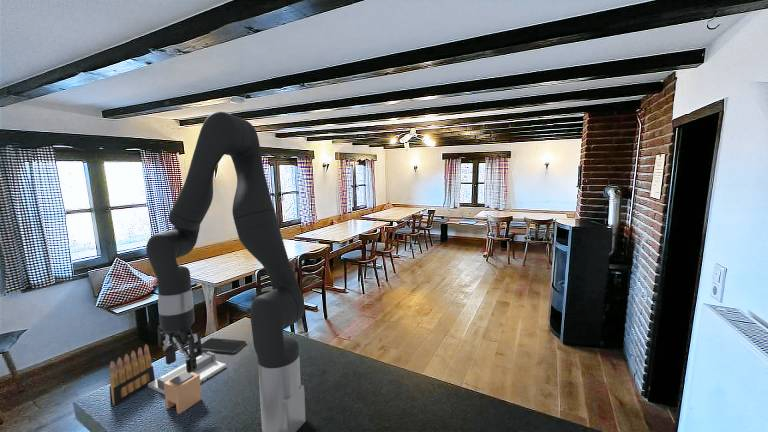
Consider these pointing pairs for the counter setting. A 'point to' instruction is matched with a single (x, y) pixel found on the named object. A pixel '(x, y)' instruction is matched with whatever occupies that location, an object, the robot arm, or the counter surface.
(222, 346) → the phone
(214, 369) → the rail board
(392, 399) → the counter surface
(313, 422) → the counter surface
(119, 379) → the ammunition clip
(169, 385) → the block
